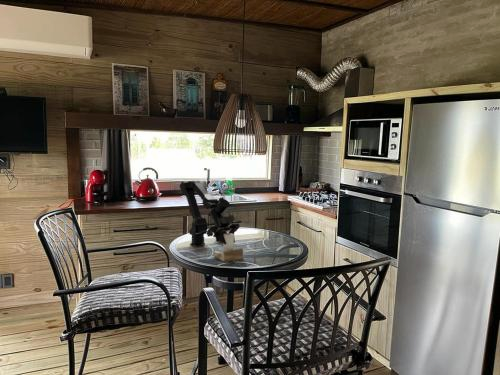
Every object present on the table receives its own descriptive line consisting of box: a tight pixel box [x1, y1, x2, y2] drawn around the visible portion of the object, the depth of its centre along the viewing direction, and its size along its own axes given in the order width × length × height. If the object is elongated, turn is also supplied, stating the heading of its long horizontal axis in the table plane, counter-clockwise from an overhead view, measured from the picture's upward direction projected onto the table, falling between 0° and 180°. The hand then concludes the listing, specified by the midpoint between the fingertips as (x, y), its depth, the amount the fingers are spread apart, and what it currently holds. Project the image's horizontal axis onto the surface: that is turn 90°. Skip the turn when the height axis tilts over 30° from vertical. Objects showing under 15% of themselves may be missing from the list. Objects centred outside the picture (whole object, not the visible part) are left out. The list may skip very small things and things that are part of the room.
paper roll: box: [222, 233, 235, 254], centre depth 201 cm, size 5×5×11 cm
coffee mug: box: [214, 224, 230, 243], centre depth 233 cm, size 12×9×10 cm
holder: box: [213, 248, 244, 263], centre depth 202 cm, size 10×11×5 cm
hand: (230, 243), depth 200 cm, fingers closed on paper roll, 5 cm apart
